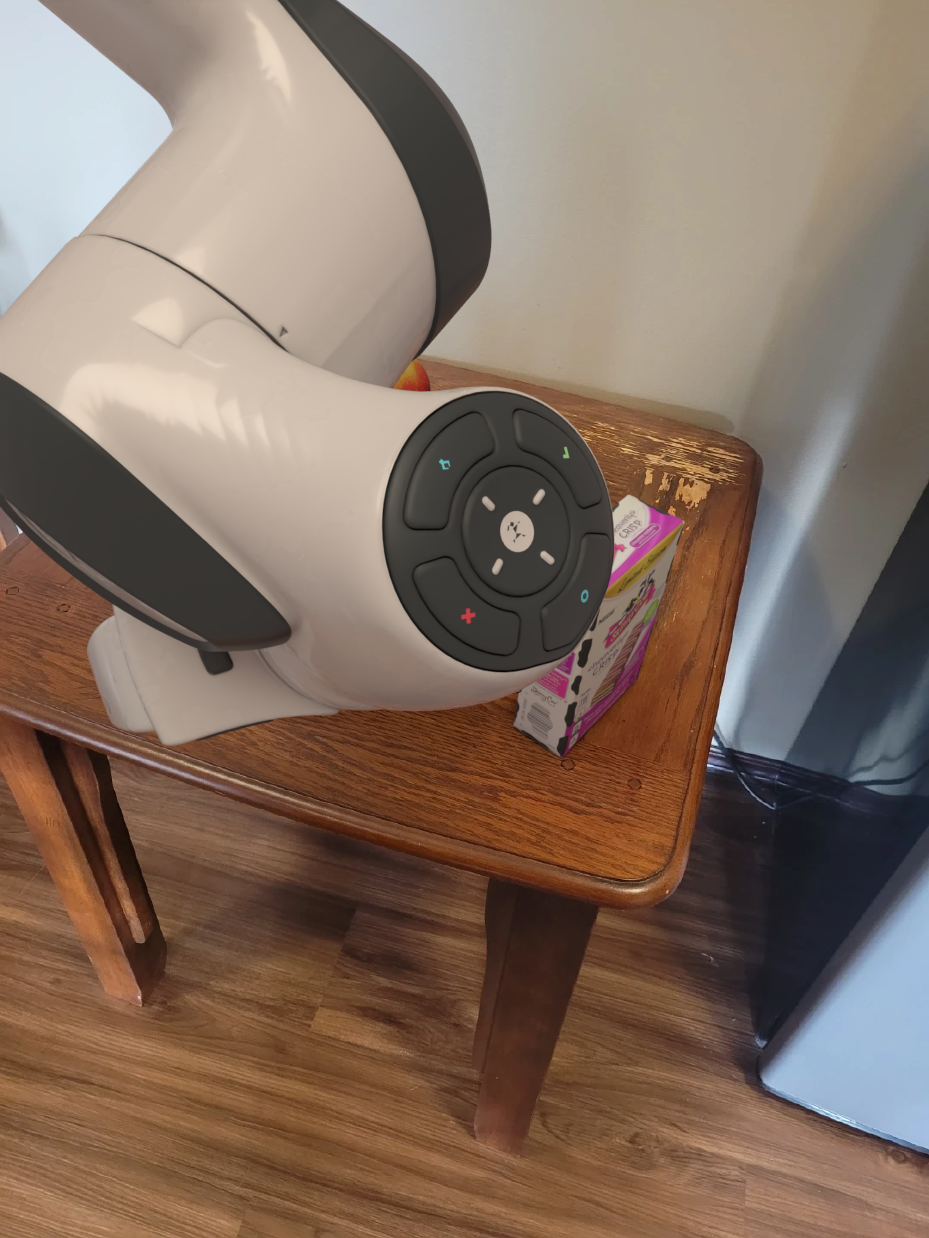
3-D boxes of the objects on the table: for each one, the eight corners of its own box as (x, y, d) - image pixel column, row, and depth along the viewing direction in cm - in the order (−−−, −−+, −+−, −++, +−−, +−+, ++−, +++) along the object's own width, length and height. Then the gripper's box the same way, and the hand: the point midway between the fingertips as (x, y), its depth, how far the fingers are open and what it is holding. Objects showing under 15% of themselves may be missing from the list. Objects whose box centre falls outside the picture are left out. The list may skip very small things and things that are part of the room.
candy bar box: (564, 763, 63) (600, 598, 51) (510, 728, 65) (533, 562, 54) (642, 681, 69) (689, 518, 58) (591, 651, 71) (626, 489, 60)
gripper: (533, 471, 39) (429, 528, 52) (66, 602, 31) (78, 632, 44) (576, 601, 39) (462, 626, 52) (123, 765, 31) (119, 747, 44)
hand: (284, 630), depth 48 cm, fingers open, 8 cm apart
